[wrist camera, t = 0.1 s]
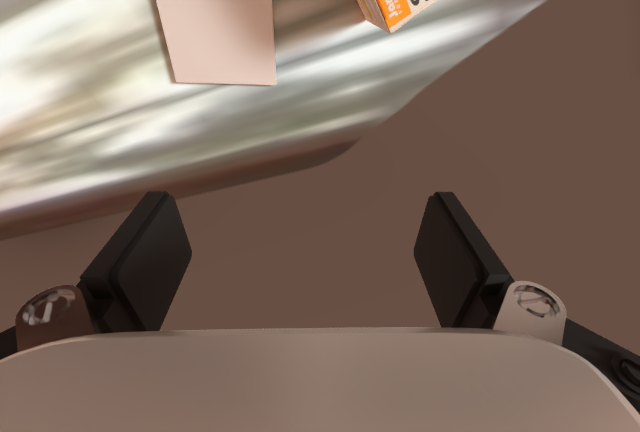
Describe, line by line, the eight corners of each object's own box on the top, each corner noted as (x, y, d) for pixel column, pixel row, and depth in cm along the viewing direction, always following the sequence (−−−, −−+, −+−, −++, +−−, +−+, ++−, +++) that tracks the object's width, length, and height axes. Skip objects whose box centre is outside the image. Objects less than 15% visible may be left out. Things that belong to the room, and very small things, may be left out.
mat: (148, -50, 30) (143, -51, 29) (269, -44, 30) (268, -45, 29) (179, 80, 37) (176, 82, 36) (276, 82, 37) (275, 85, 37)
